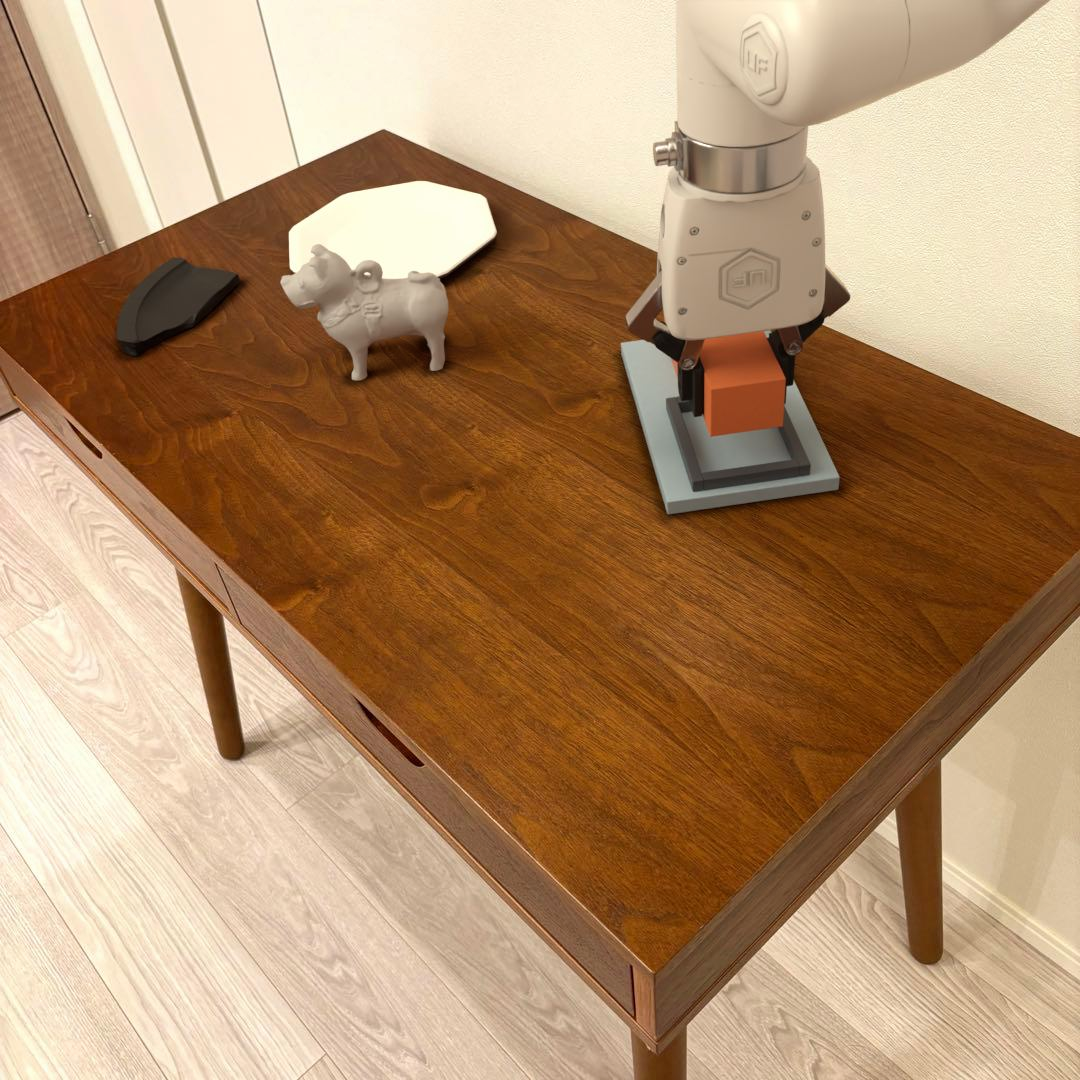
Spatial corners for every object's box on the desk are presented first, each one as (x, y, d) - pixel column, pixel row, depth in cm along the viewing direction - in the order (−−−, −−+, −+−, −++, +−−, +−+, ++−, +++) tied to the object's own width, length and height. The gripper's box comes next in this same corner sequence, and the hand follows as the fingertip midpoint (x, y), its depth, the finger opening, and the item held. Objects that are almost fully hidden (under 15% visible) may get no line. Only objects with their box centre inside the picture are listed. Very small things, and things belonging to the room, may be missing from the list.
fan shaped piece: (83, 347, 103) (76, 331, 102) (176, 271, 111) (170, 256, 110) (156, 361, 100) (150, 345, 99) (245, 282, 108) (240, 266, 107)
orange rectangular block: (757, 368, 83) (759, 321, 80) (783, 426, 77) (786, 378, 75) (689, 378, 83) (688, 331, 80) (710, 437, 77) (710, 389, 75)
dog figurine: (308, 354, 98) (276, 242, 91) (455, 333, 98) (435, 219, 91) (305, 389, 94) (271, 275, 87) (458, 367, 94) (437, 251, 87)
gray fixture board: (765, 334, 94) (768, 278, 90) (838, 490, 79) (845, 430, 76) (621, 354, 94) (618, 299, 90) (667, 515, 79) (665, 456, 75)
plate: (291, 216, 118) (287, 202, 116) (479, 183, 119) (477, 170, 118) (294, 315, 103) (290, 300, 102) (508, 277, 104) (506, 262, 103)
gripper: (608, 199, 65) (622, 449, 77) (905, 157, 65) (872, 414, 77) (589, 143, 70) (606, 385, 82) (864, 105, 70) (839, 352, 83)
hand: (734, 397), depth 80 cm, fingers closed on orange rectangular block, 5 cm apart
